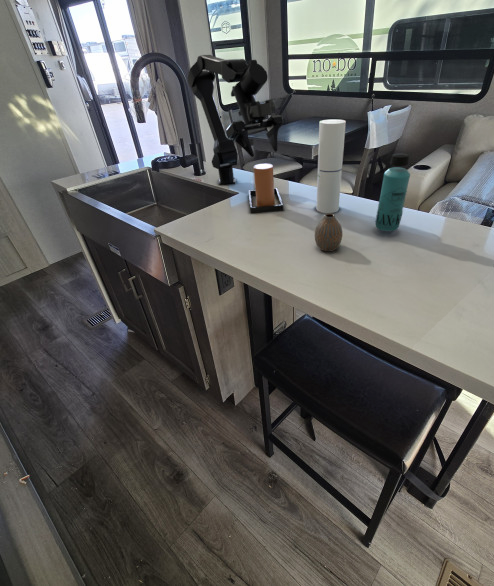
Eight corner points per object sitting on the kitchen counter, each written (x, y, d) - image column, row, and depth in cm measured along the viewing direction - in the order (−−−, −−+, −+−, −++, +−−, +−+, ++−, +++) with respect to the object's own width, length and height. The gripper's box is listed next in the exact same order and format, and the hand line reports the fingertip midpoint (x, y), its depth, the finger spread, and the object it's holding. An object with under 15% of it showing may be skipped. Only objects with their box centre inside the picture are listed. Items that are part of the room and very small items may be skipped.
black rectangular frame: (248, 195, 113) (248, 190, 112) (277, 193, 114) (277, 188, 113) (250, 213, 100) (250, 207, 99) (283, 210, 101) (283, 205, 100)
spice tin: (256, 204, 106) (253, 164, 98) (274, 202, 106) (272, 163, 98) (257, 210, 101) (254, 169, 93) (275, 209, 102) (273, 168, 94)
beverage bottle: (369, 229, 87) (380, 153, 75) (387, 224, 89) (401, 149, 77) (384, 238, 83) (399, 159, 70) (403, 233, 85) (421, 155, 73)
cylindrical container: (328, 215, 96) (333, 124, 81) (311, 209, 101) (314, 122, 86) (343, 208, 100) (351, 120, 85) (326, 203, 104) (331, 118, 89)
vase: (325, 238, 84) (327, 207, 79) (346, 246, 80) (350, 214, 75) (308, 248, 80) (309, 216, 75) (329, 257, 76) (332, 223, 71)
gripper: (230, 91, 85) (251, 148, 88) (284, 86, 94) (301, 138, 97) (217, 112, 95) (236, 163, 98) (266, 105, 103) (282, 152, 106)
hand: (264, 153), depth 99 cm, fingers open, 9 cm apart
